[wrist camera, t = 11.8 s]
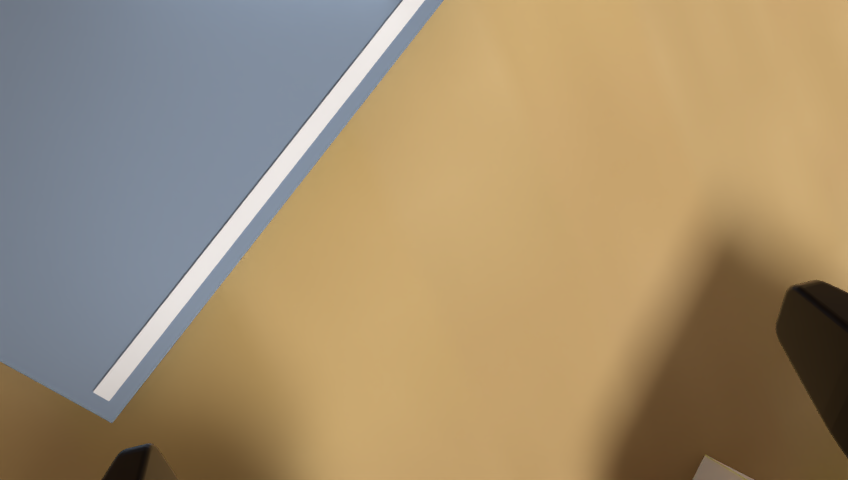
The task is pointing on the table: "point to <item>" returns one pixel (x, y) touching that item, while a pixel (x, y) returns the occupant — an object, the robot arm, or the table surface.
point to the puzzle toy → (717, 471)
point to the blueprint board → (159, 162)
